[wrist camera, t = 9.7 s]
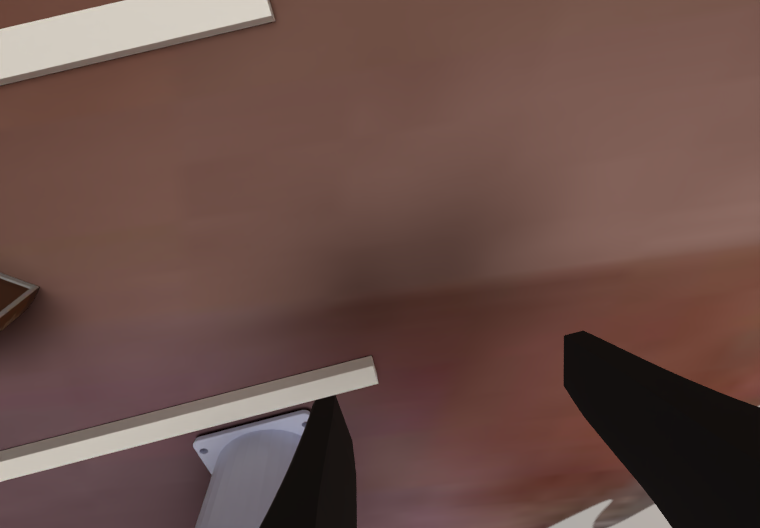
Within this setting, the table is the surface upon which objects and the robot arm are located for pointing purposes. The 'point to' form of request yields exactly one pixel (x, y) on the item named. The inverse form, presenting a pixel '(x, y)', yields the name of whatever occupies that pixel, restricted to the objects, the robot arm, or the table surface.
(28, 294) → the food container
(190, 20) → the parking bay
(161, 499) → the table surface
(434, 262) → the table surface
